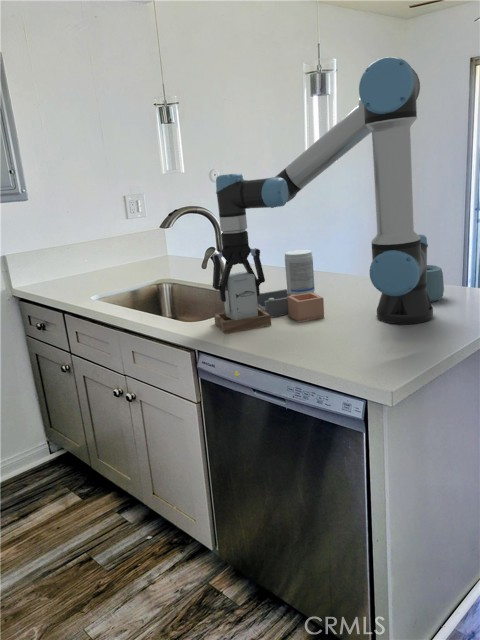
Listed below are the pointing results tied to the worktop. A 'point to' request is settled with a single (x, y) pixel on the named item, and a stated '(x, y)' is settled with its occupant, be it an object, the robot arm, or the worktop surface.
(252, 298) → the supplement box
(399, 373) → the worktop surface
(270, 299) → the cradle
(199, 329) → the worktop surface
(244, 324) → the trough
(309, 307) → the square terracotta planter
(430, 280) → the mug
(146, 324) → the worktop surface
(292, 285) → the supplement tub
